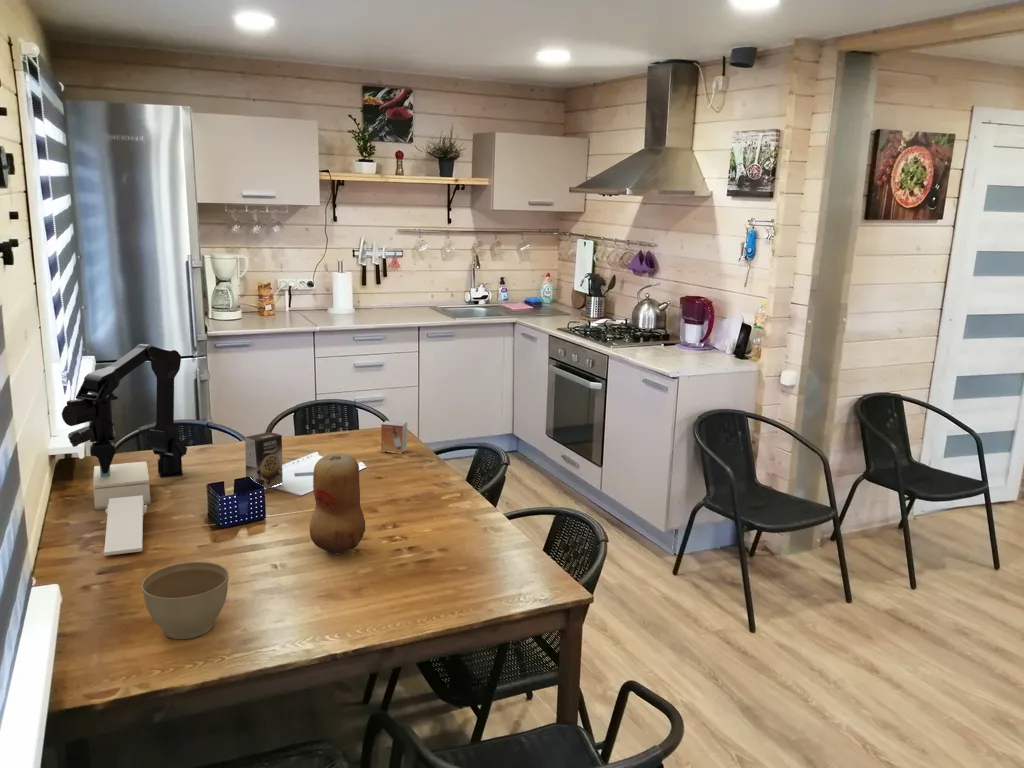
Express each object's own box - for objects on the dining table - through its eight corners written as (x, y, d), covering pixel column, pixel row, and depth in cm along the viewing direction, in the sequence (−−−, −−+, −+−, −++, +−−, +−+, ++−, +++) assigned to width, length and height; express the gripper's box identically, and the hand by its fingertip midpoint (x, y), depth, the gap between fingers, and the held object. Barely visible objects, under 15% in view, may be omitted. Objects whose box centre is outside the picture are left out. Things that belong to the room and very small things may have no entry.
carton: (147, 483, 243) (146, 464, 241) (150, 503, 227) (149, 483, 226) (95, 489, 236) (94, 469, 235) (94, 510, 221) (93, 489, 219)
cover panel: (146, 463, 241) (145, 445, 240) (149, 482, 226) (148, 463, 224) (94, 468, 235) (93, 449, 234) (93, 488, 219) (91, 468, 218)
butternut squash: (298, 555, 197) (296, 458, 192) (329, 536, 210) (328, 444, 204) (346, 566, 192) (346, 467, 187) (375, 546, 205) (376, 452, 199)
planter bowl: (181, 603, 172) (179, 556, 170) (246, 616, 167) (245, 568, 165) (126, 640, 157) (122, 589, 154) (196, 656, 152) (193, 603, 150)
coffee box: (258, 492, 239) (256, 440, 235) (245, 487, 243) (243, 436, 239) (283, 485, 246) (282, 434, 243) (270, 480, 250) (269, 430, 246)
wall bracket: (143, 574, 197) (143, 519, 221) (149, 548, 195) (149, 496, 219) (98, 571, 192) (103, 515, 216) (104, 544, 191) (109, 491, 215)
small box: (380, 452, 282) (380, 423, 280) (385, 448, 288) (385, 420, 286) (402, 454, 281) (402, 425, 279) (407, 450, 287) (407, 421, 284)
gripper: (70, 411, 230) (74, 464, 233) (67, 428, 213) (71, 484, 217) (113, 409, 234) (117, 460, 238) (113, 425, 218) (117, 479, 221)
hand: (105, 470), depth 228 cm, fingers open, 5 cm apart
